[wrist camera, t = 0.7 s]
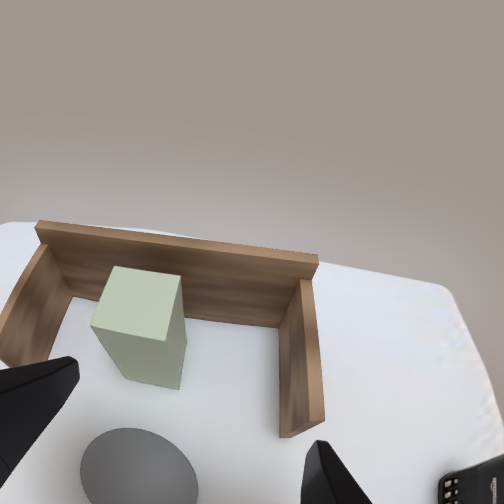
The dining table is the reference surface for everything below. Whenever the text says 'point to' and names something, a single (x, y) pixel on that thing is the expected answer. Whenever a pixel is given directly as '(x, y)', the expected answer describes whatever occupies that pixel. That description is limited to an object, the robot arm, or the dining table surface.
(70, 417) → the dining table surface
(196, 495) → the grey mat
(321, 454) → the robot arm
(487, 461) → the battery charger
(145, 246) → the open box
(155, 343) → the block
